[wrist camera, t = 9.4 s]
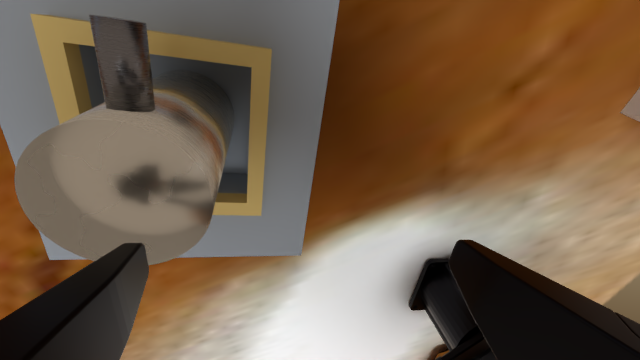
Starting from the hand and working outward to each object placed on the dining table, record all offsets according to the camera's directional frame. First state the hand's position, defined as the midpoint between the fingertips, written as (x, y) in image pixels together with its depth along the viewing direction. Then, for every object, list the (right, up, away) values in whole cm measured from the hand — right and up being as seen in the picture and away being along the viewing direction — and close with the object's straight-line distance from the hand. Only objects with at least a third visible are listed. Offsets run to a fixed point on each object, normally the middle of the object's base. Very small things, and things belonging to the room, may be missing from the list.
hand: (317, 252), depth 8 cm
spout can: (-7, +7, +7) cm, 12 cm away
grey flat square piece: (-7, +6, +9) cm, 13 cm away
